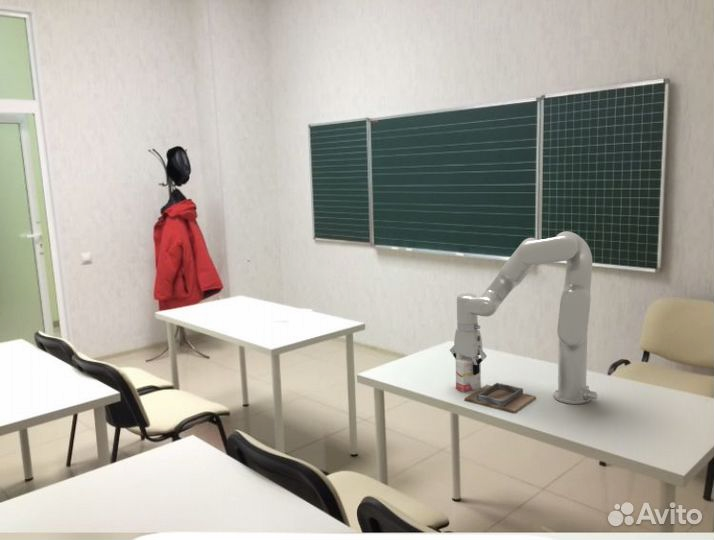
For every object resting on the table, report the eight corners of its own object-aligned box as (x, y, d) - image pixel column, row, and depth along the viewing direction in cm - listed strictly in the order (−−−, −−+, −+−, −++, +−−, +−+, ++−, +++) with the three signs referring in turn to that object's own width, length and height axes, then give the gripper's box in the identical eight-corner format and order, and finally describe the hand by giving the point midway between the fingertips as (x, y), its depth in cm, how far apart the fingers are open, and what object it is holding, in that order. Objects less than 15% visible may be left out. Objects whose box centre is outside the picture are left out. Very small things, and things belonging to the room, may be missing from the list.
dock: (535, 398, 221) (535, 390, 220) (514, 413, 209) (514, 405, 209) (486, 387, 234) (486, 379, 234) (464, 400, 222) (464, 392, 222)
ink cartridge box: (464, 392, 230) (463, 355, 227) (455, 389, 234) (454, 352, 231) (481, 387, 234) (481, 350, 231) (472, 384, 238) (472, 347, 235)
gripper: (492, 327, 226) (493, 373, 230) (453, 321, 238) (454, 365, 241) (482, 332, 221) (483, 379, 224) (442, 325, 232) (443, 370, 236)
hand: (468, 371), depth 233 cm, fingers closed on ink cartridge box, 6 cm apart
